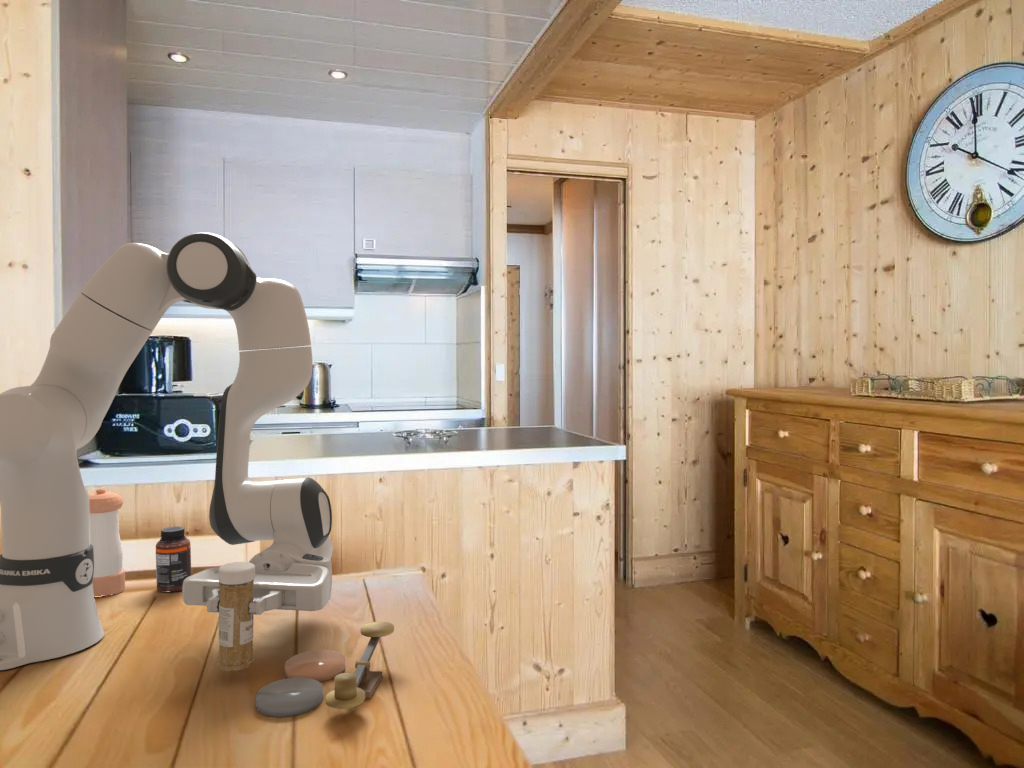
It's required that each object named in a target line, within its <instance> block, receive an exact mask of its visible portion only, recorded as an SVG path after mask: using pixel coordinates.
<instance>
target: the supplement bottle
mask: <svg viewBox="0 0 1024 768" xmlns="http://www.w3.org/2000/svg"><path fill="white" fill-rule="evenodd" d="M185 534H186V533H185V527H183V526H168V527H164V528H161V530H160V539H159V540H158V541H157V542H156V544H155V573H156V575H155V576H156V577H155V579H156V589H157V591H158V592H161V591H176V592H180V591H179V590H181V591H182V587H183V581H184V580H185V579H186V578H187V577H189V576H191V575H192V559H191V558H192V552H191V551H192V550H191V546H192V545H191V540H190V539H189V538H188V537H186V536H185Z"/></svg>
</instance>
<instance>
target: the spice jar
mask: <svg viewBox="0 0 1024 768" xmlns="http://www.w3.org/2000/svg"><path fill="white" fill-rule="evenodd" d="M219 567H220V568H219V572H218V581H219V585H220V599H219V601H220V603H219V613H218V644H219V645H218V661H217V666H218V668H219V669H220V670H223V671H226V672H235V671H241V670H244V669H247V668H248V667H251V666H252V664H253V663H254V661H255V660H254V651H253V650H254V648H253V647H254V614H249V610H250V608H249V603H250V601H251V600H253V582H254V579H255V565H254V564H252V563H249V561H234V562H228V563H225V564H222V565H220V566H219Z"/></svg>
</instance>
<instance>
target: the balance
mask: <svg viewBox="0 0 1024 768" xmlns="http://www.w3.org/2000/svg"><path fill="white" fill-rule="evenodd" d="M394 632H395V625H394V624H393V623H391V622H390V621H389V622H387V621H372V622H368V623H365V624H363V625H362V626H361V627H360V634H361V635H362V636H364V637H367V638H370V639H369V641H368V643H367V645H366V647H365V649H364V652H363V653H362V656H361V658H360V660H359V661H357V660H356V661H355V662H354V663H355V665H354V669H355V671H353V672H343V673H341V674H339V675H337V676H335V678H333V679H334V680H333V681H334V689H333V690H331V691H329V692H327V694H326V696H325V703H326V705H327V706H328V707H330V708H332V709H338V710H339V709H340V710H344V709H345V710H347V709H351V708H354V707H358V706H359V705H361V704H362V703H364V701H366V699H371V698H372V696H373V694H374V692H375V691H376V689H377V687H378V686H379V684H380V683H381V681H382V679H383V671H381V670H380V671H375V670H373V671H372V670H371V658H372V657H373V654H374V652H375V650H376V648H377V645H378V643H379V641H380V639H381V638H383V637H387V636H389V635H392V634H393V633H394Z"/></svg>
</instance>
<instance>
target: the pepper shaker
mask: <svg viewBox="0 0 1024 768" xmlns="http://www.w3.org/2000/svg"><path fill="white" fill-rule="evenodd" d="M88 494H89V507H90V544H91V545H93V550H94V574H93V581H92V583H93V592H94V596H101V595H111V594H115V595H118V594H120V593H122V592H124V591H125V590H126V570H125V569H124V568H123V566H124V564H123V560H124V559H123V558H124V556H123V555H124V551H123V546H122V541H121V536H120V525H119V523H120V522H119V520H120V519H119V518H120V517H119V509H121V508H122V506H123V504H124V500H123V498H122V496H121V495H120V494H118V493H116V492H113V491H107V489H106V488H103V487H101V488H97V489H96V491H95V492H92V493H88ZM111 596H112V595H111Z"/></svg>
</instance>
